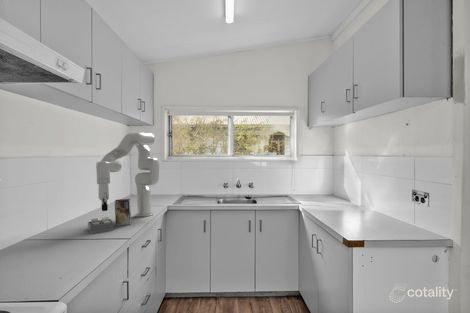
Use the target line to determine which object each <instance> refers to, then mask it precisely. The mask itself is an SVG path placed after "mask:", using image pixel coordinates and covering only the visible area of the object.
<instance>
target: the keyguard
mask: <svg viewBox="0 0 470 313" xmlns="http://www.w3.org/2000/svg"><path fill="white" fill-rule="evenodd" d="M109 221H110V223H106V224H103V222H102V219H101V220H99V219H98V222H99V223H100V224H99V225H92V223H91V221H87V230H88V231H89V233H92V234H97V233H98V234H99V233H103V232H104V233H105V232H112V231H114V230H115V222H114V221H113V220H112V219H111V218H109Z"/></svg>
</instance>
